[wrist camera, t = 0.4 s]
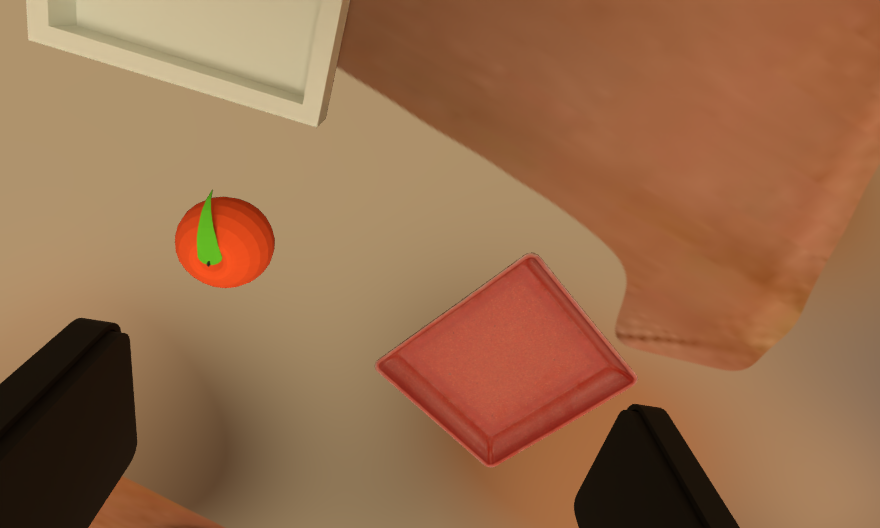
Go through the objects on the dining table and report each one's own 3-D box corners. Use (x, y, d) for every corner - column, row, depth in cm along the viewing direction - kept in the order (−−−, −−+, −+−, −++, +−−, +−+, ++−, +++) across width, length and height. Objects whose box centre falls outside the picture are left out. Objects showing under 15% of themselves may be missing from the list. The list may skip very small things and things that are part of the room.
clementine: (188, 170, 37) (140, 200, 31) (278, 173, 38) (250, 203, 31) (205, 261, 41) (167, 305, 35) (288, 263, 41) (264, 307, 35)
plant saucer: (372, 345, 46) (369, 368, 43) (525, 233, 41) (534, 250, 38) (485, 445, 53) (489, 471, 50) (628, 359, 48) (642, 381, 45)
